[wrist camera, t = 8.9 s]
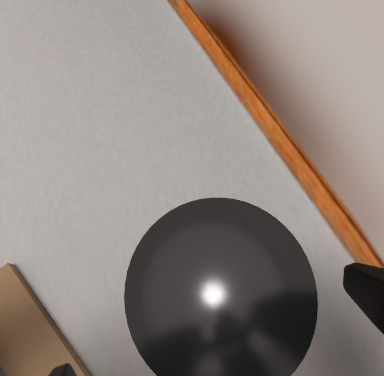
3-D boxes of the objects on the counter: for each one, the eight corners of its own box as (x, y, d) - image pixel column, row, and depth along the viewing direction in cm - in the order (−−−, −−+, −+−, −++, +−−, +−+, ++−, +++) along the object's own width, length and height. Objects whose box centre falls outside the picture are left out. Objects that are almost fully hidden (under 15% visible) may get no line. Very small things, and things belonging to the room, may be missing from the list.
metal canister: (245, 300, 18) (356, 295, 7) (191, 357, 17) (220, 462, 6) (195, 245, 19) (222, 165, 8) (141, 295, 18) (84, 281, 7)
